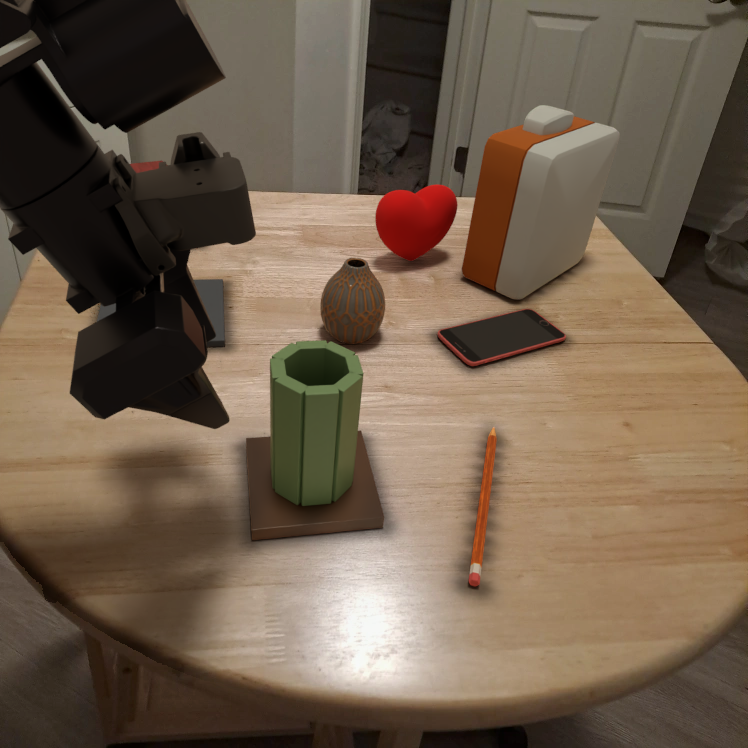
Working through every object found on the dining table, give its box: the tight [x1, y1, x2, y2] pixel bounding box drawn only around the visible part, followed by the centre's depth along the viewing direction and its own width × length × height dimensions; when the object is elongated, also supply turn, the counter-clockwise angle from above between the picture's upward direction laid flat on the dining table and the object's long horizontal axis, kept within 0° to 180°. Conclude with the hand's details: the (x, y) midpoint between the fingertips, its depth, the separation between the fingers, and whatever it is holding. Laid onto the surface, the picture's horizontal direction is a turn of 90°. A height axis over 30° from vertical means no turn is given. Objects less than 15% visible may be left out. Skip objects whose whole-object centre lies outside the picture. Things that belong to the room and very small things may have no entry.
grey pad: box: [96, 278, 226, 348], centre depth 72 cm, size 13×13×1 cm
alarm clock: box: [461, 104, 621, 300], centre depth 83 cm, size 18×9×21 cm, turn 139°
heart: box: [374, 184, 458, 262], centre depth 85 cm, size 12×5×10 cm, turn 121°
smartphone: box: [436, 308, 567, 367], centre depth 74 cm, size 7×1×14 cm
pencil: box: [468, 426, 498, 587], centre depth 54 cm, size 1×18×1 cm, turn 167°
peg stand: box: [245, 430, 385, 541], centre depth 52 cm, size 10×10×6 cm
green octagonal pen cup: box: [269, 339, 364, 506], centre depth 50 cm, size 6×6×11 cm
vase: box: [319, 257, 386, 345], centre depth 70 cm, size 7×7×9 cm
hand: (215, 378), depth 43 cm, fingers open, 9 cm apart
